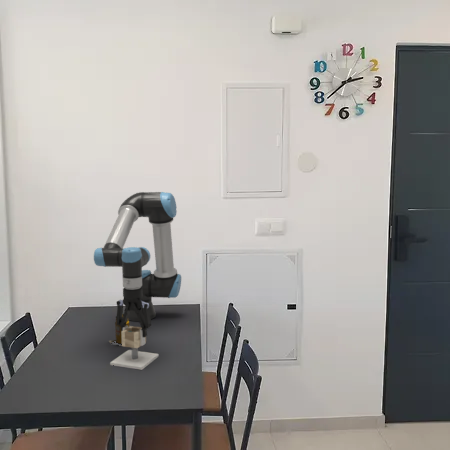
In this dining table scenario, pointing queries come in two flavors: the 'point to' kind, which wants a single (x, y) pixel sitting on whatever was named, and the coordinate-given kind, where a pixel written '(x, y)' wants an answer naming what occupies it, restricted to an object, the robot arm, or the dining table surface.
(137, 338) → the wooden hollow block
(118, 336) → the condiment
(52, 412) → the dining table surface
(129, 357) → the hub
